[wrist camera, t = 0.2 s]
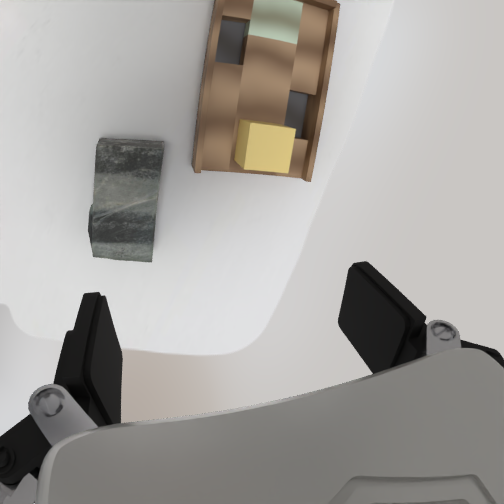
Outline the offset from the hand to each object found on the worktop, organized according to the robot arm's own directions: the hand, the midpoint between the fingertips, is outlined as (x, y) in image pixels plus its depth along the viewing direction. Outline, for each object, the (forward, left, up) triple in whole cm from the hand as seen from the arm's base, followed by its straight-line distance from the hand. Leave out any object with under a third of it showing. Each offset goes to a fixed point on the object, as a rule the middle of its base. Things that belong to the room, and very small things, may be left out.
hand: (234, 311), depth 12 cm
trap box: (-11, +8, -31) cm, 33 cm away
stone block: (+5, -7, -31) cm, 32 cm away
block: (-3, +8, -28) cm, 29 cm away
